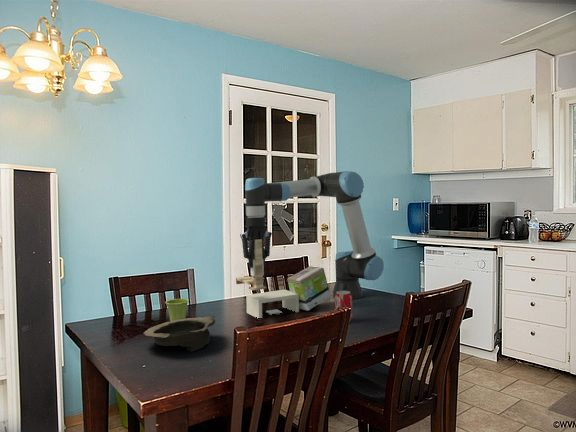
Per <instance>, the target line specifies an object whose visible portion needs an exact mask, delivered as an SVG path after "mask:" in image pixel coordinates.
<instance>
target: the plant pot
mask: <svg viewBox="0 0 576 432" xmlns="http://www.w3.org/2000/svg"><path fill="white" fill-rule="evenodd" d="M188 303H189V299H186V298H175V299H174V298H173V299H169V300H166V301H165V304H166V307H167V309H168V310H167V311H168V316H169V322H170V321H174V320H181V319H187V318H186V317H187V307H188Z"/></svg>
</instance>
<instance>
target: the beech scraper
mask: <svg viewBox="0 0 576 432" xmlns="http://www.w3.org/2000/svg"><path fill="white" fill-rule="evenodd" d="M253 259H254V260H255V276H252V275H251V276H249V275H248V276H241V277H240V276H239V277H236V278H235V284H236V285H242V284H246V285H249V286H248V290H250V291H260V290H266V289H267V286H265V285H264V275H263V263H262V239H256V240H255V243H254V256H253ZM250 285H251V286H250Z"/></svg>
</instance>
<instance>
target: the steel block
mask: <svg viewBox="0 0 576 432" xmlns="http://www.w3.org/2000/svg"><path fill="white" fill-rule="evenodd" d="M265 313H266V314H268V315H270V316H273V315H272V314H276V315H281V314H280V313H282V314H283V312H282V311H281V310H279V309H270V310H265Z"/></svg>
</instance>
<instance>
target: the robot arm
mask: <svg viewBox="0 0 576 432" xmlns="http://www.w3.org/2000/svg"><path fill="white" fill-rule="evenodd" d="M244 186H245V187H244V190H245V191H244V192H245V215H246V216H247V217H246V218H245V219H246V221H245V222H246V230H245V232H244V233H240V235H239V236H240V238H241V243H242V244H241V245H242V252H243V258H244V259H246V260H248V268H250V276H251V277H252V276H255V260H254V259H253V256H254V243H255V240H256V239H262V263H263V276H264V275H265V272H264V271H265V270H264V269H265V268H264V267H265V266H266V259H267V258H268V257H270V254H271V237H272V235H273V232H271V231H267V229H266V217H265V216H266V207H265V206H266V204H265V202H286V201H288V200H289V198H290V199H291V198H296V197H305V196H312V197H315V198H316V197H329V198H335V200H336V204H337V205H340V206H341V210H342V213H343V217H344V221H345V225H346V228H347V233H348V235H349V240H350V243H351V247H352V250H350V251H349V250H347V251H340V252H339V251H338V252H336V254H335V259H334V261H335V264H334V265H335V267H334V268H335V283H334V286H333V290H332V297H333V298H335V295H336V292H337V291H349V292H350V294H351V296H352V300H355V299H356V300H357V299H361V298H363V290H362V286H361V284H360V283H361V282H360V281H359V279H362V280H366V281H376V280H378V279H379V278H380V277H381V276H382V274H383V272H384V269H385V268H384V267H385V265H384V263H385V262H384V260H383V258H382V257H380V256H377V253H376V249H374V248H373V247H372V246H371V242H370V238H369V234H368V229H367V226H366V222H365V217H364V215H363V210H362V207H361V203H360V201H361V199H362V193H363V192H364V188H365V186H364V180H363V178H362V176H361V175H360V174H359V173H357V172H355V171H351V170H350V171H348V170H345V171H337V172H329V173H325V174H320V175H316V176H314V175H313V176H311V177H309V178H307V179H298V180H297V179H295V180H288V181H279V182H278V181H277V182H265V179H264V177H250V178H247V179H246V180H245V184H244ZM248 238H249V239H248ZM248 240H249V241H248ZM248 242H249V243H248Z"/></svg>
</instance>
